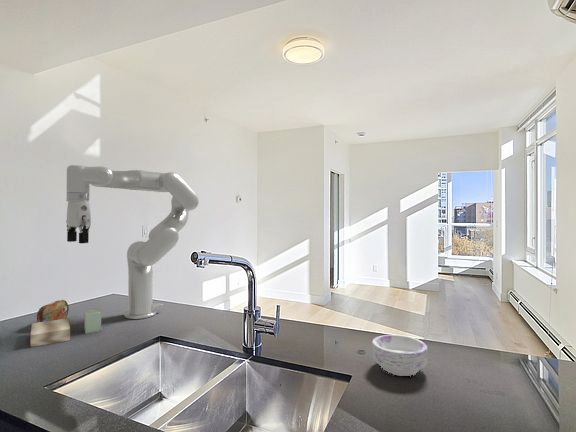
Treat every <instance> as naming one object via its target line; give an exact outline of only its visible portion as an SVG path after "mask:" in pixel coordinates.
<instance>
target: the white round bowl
mask: <svg viewBox="0 0 576 432" xmlns="http://www.w3.org/2000/svg"><path fill="white" fill-rule="evenodd" d="M371 351H372V352H371V358H372V360H373V361H374V362H375V363H377V364H378V365H379V366H381V367H380V368H381V369H382V368H383V369H384V370H386V371H388V372H391V373H394V374H401V375H409V374H415V373H417V372H418V373H419V371H420V370H422V369H424V368H426V367H427V365H428V352H429V351H428V345H427V344H426V343H425V342H423V341H422V340H421V339H418V338H416V337H412V336H408V335H407V336H406V335H401V334H384V335H380V336H379V335H378V336H376V337H374V338H373V339H372V342H371ZM383 369H382V370H383ZM384 370H383V371H384ZM418 373H417V374H418ZM415 375H416V374H415Z"/></svg>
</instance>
